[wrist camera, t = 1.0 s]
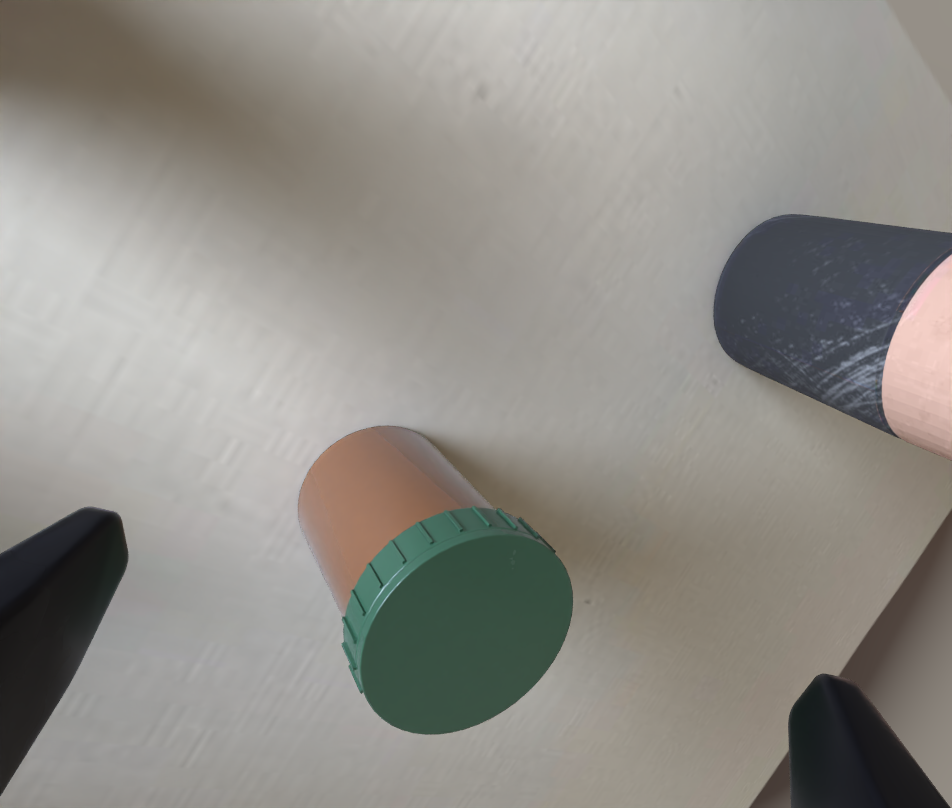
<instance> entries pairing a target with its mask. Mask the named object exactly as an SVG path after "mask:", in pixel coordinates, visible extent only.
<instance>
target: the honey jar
mask: <svg viewBox="0 0 952 808" xmlns="http://www.w3.org/2000/svg"><path fill="white" fill-rule="evenodd" d="M472 506H476V507H477V508H488V509H494V510H496V509H495V508H494V507H493V506H492V505H491V504H490V503H489V502H488V501H487V500H486V499H485V498H484V497H483V496H482V495H481V494H480V493H479V492H478V491H477V490H476V489H475V488H474V487H473V486H472V485H471V484H470V482H469V481H468V480H467V479H466V478H465V477H464V476H463V475H462V474H461V473H460V472H459V471H458V470H457V469H456V468H455V467H454V466H453V465H452V464H451V463H450V462H449V461H448V460H447V459H446V458H445V457H444V455H443V454H442V453H441V452H440V451H439V450H438V449H437V448H436V447H435V446H434V445H433V444H432V443H431V442H430V441H429V440H427V439H426V438H425V437H424V436H422V435H420V434H418V433H417V432H414V431H412V430H409V429H406V428H402V427H396V426H377V427H371V428H366V429H363V430H359V431H357V432H354V433H352V434H350V435H347V436H346V437H344V438H342V439H340V440H339V441H337V442H336V443H334V444H333V445H332V446H330V447H329V448H328V449H327V450H326V451H325V452H324V453H323V454H322V455H321V456H320V457H319V458H318V459H317V460H316V462H315V463H314V464H313V466H312V467H311V469H310V470H309V472H308V474H307V476H306V478H305V480H304V482H303V485H302V488H301V491H300V495H299V500H298V517H299V522H300V527H301V529H302V532H303V534H304V536H305V539H306V541H307V543H308V545H309V547H310V549H311V551H312V553H313V556H314V558H315V560H316V562H317V564H318V566H319V568H320V570H321V573H322V575H323V577H324V579H325V581H326V583H327V585H328V587H329V590H330V592H331V594H332V596H333V598H334V600H335V602H336V604H337V607H338V609H339V611H340V613H341V615H342V617H345V613H346V609H347V605H348V602H349V599H350V597H351V593H350V592H351V589H354V587H355V585H356V583H357V581H358V580H359V578H360V576H361V575H362V573H363V572H364V570H365V569H366V565H367V564H368V563H370V562H371V561H372V560H373V558H374V557H375V556H376V555H377V554H378V553H379V552H380V551H381V550H382V549H383V548H384V547H385V546H386V545H387V544H388V543H389V542H388V541H390V540H393V539H394V538H395V537H397V536H398V535H399V534H401V533H402V532H403V531H405V530H406V529H408V528H410V527H411V526H413V525H415V523H416V522H420V521H422V520H425V519H427V518H429V517H431V516H434V515H436V514H440V513H443V512H444V510H448V511H450V510H455V509H461V508H471V507H472Z"/></svg>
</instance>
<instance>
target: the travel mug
mask: <svg viewBox="0 0 952 808" xmlns="http://www.w3.org/2000/svg"><path fill="white" fill-rule="evenodd" d="M714 325H715V330H716V334H717V337H718V340H719V342H720V344H721V346H722V347H723V349H724V350H725V352H726V353H727V354H728V355H729V356H730V357H731V358H732V359H734V360H735V361H736V362H738V363H740V364H742V365H744V366H745V367H747V368H749V369H751V370H753V371H755V372H758V373H760V374H762V375H764V376H766V377H768V378H770V379H772V380H774V381H777V382H779V383H781V384H783V385H785V386H787V387H789V388H792V389H794V390H796V391H798V392H800V393H802V394H805V395H807V396H809V397H811V398H813V399H815V400H817V401H820V402H822V403H824V404H826V405H828V406H830V407H833V408H835V409H837V410H839V411H841V412H843V413H845V414H848V415H850V416H852V417H854V418H856V419H858V420H861V421H863V422H865V423H867V424H869V425H871V426H873V427H876V428H878V429H880V430H882V431H884V432H886V433H889V434H891V435H893V436H895V437H897V438H900V439H903V440H905V441H906V442H908V443H911V444H913V445H916V446H918V447H920V448H923V449H925V450H928V451H930V452H932V453H935V454H937V455H940V456H942V457H945V458H947V459H949V460H952V233H946V232H938V231H930V230H922V229H914V228H907V227H899V226H891V225H883V224H875V223H867V222H859V221H851V220H843V219H835V218H827V217H818V216H809V215H797V214H789V215H781V216H778V217H774V218H772V219H769V220H767V221H765V222H763V223H762V224H760V225H759V226H757V227H756V228H755V229H753V230H752V231H751V232H750V233H749V234H748V235H747V236H746V237H745V238H744V239H743V240H742V241H741V242H740V243H739V245H738V246H737V247H736V248H735V250H734V251H733V253H732V254H731V256H730V258H729V260H728V261H727V263H726V265H725V267H724V270H723V272H722V274H721V277H720V280H719V283H718V286H717V290H716V295H715V302H714Z"/></svg>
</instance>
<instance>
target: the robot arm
mask: <svg viewBox="0 0 952 808" xmlns="http://www.w3.org/2000/svg"><path fill="white" fill-rule="evenodd" d="M127 563H128V549H127V544H126V539H125V534H124V529H123V524H122V520H121V517H120V516H119V515H118V514H117V513H116V512H114V511H109V510H105V509H101V508H96V507H84V508H81V509H79V510H77V511H75V512H73V513H72V514H70V515H68V516H66V517H65V518H63V519H61V520H59V521H57V522H56V523H54V524H52V525H50V526H49V527H47V528H45V529H43V530H42V531H40V532H38V533H36V534H34V535H33V536H31V537H29V538H27V539H26V540H24V541H22V542H20V543H19V544H17V545H15V546H13V547H11V548H10V549H8V550H6V551H4V552H3V553H1V554H0V796H1V794H2V793H3V791H4V790H5V788H6V786H7V785H8V783H9V781H10V780H11V778H12V777H13V775H14V773H15V772H16V770H17V769H18V767H19V765H20V764H21V762H22V761H23V759H24V757H25V756H26V754H27V753H28V751H29V749H30V748H31V746H32V744H33V743H34V741H35V740H36V738H37V736H38V735H39V733H40V732H41V730H42V728H43V727H44V725H45V724H46V722H47V720H48V719H49V717H50V716H51V714H52V712H53V711H54V709H55V707H56V706H57V704H58V703H59V701H60V699H61V698H62V696H63V694H64V693H65V691H66V689H67V688H68V686H69V684H70V683H71V681H72V679H73V677H74V675H75V673H76V671H77V669H78V667H79V666H80V664H81V662H82V660H83V658H84V655H85V653H86V651H87V649H88V647H89V645H90V643H91V641H92V639H93V637H94V635H95V633H96V631H97V629H98V626H99V624H100V622H101V620H102V618H103V616H104V614H105V612H106V610H107V608H108V606H109V604H110V602H111V600H112V598H113V595H114V593H115V591H116V589H117V587H118V585H119V583H120V581H121V579H122V577H123V575H124V573H125V570H126V567H127ZM788 733H789V765H790V797H791V808H950V806H949V805H948V804H947V802H946V801H945V800H944V798H943V797H942V796H941V794H940V793H939V792H938V790H937V789H936V788H935V786H934V785H933V784H932V782H931V781H930V780H929V778H928V777H927V776H926V774H925V773H924V772H923V770H922V769H921V768H920V766H919V765H918V764H917V762H916V761H915V760H914V758H913V757H912V756H911V754H910V753H909V751H908V750H907V749H906V748H905V746H904V745H903V743H902V742H901V741H900V739H899V738H898V737H897V735H896V734H895V733H894V731H893V730H892V729H891V728H890V726H889V725H888V723H887V722H886V721H885V720H884V718H883V717H882V715H881V714H880V713H879V711H878V710H877V709H876V707H875V706H874V705H873V703H872V702H871V701H870V699H869V698H868V697H867V695H866V694H865V693H864V691H863V690H862V689H861V688H860V686H859V685H857V684H856V683H855V682H853V681H852V680H850V679H847V678H842V677H838V676H834V675H829V674H820V675H818V676H816V677H815V678H814V679H813V681H812V682H811V683H810V685H809V686H808V687H807V688H806V690H805V691H804V692H803V694H802V695H801V696H800V697H799V699H798V700H797V701H796V702H795V704H794V705H793V707H792V709H791V712H790V715H789V722H788Z"/></svg>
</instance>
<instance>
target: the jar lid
mask: <svg viewBox="0 0 952 808" xmlns="http://www.w3.org/2000/svg"><path fill="white" fill-rule="evenodd" d="M388 542H389V543H388V544H387V545H386V546H385V547H384V548H383V549H382V550H381V551H380V552H379V553H378V554H377V555H376V556H375V557H374V558H373V560H372V561H371V562H370V563H368V564H367V565H366V569H365V570H364V572H363V573H362V575H361V576H360V578H359V580H358V581H357V583H356V585H355V587H354V589H351V592H350V593H351V597H350V599H349V602H348V605H347V609H346V613H345V617H342V621H343V623H344V629H343V633H344V642H343V643H342V647H343V650H344V652H345V654H346V656H347V658H348V661H349V663H350V665H349V668H350V671H351V673H352V675H353V677H354V680H355V682H356V684H357V687H358V689H359V691H360V693H363V692H364V695H365V697H366V699H367V701H368V703H369V704H370V706H371V707H372V709H373V710H374V711H375V712H376V713H377V714H378V715H379V716H380V717H381V718H382V719H383V720H385V721H386V722H388V723H389V724H390V725H392V726H394V727H397V728H399V729H401V730H404V731H408V732H411V733H417V734H444V733H452V732H456V731H460V730H464V729H467V728H470V727H473V726H475V725H478V724H480V723H482V722H484V721H487V720H489V719H491V718H493V717H494V716H496V715H498V714H499V713H501V712H503V711H504V710H506V709H507V708H509V707H510V706H511V705H513V704H514V703H516V702H517V701H518V700H519V699H520V698H522V697H523V696H524V695H525V694H526V693H527V692H528V691H529V690H530V689H531V688H532V687H533V686H534V685H535V684H536V683H537V682H538V681H539V680H540V679H541V677H542V676H543V675H544V674H545V673H546V671H547V670H548V668H549V667H550V666H551V664H552V663H553V661H554V660H555V658H556V656H557V654H558V653H559V651H560V649H561V647H562V645H563V642H564V640H565V638H566V635H567V632H568V629H569V626H570V621H571V616H572V608H573V592H572V586H571V582H570V578H569V575H568V573H567V570H566V568H565V567H564V565H563V563H562V562H561V560H560V559H559V558H558V557H557V555H556V554H555V552H556V551H555V550H554V549H553V548H552V547H551V546H550V545H549V544H548V543H547V542H546V541H545V540H544V539H543V538H542V537H541V536H540V535H539V534H538V533H537V532H535V531H534V530H533V529H532V528H531V527H530V526H529V525H528V524H527V523H526V522H525V521H524V520H523V519H522V518H521V517H519V519H517V518H516V517H514V516H512V515H510V514H508V513H505V512H504V511H503V510H502V509H500V508H498V509H497V510H494V509H488V508H477V507H476V506H472V507H471V508H461V509H455V510H450V511H448V510H444V512H443V513H440V514H436V515H434V516H431V517H429V518H427V519H425V520H422V521H420V522H416V523H415V525H413V526H411V527H410V528H408V529H406V530H405V531H403V532H402V533H401V534H399V535H398V536H397V537H395V538H394V539H393V540H390V541H388Z"/></svg>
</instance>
